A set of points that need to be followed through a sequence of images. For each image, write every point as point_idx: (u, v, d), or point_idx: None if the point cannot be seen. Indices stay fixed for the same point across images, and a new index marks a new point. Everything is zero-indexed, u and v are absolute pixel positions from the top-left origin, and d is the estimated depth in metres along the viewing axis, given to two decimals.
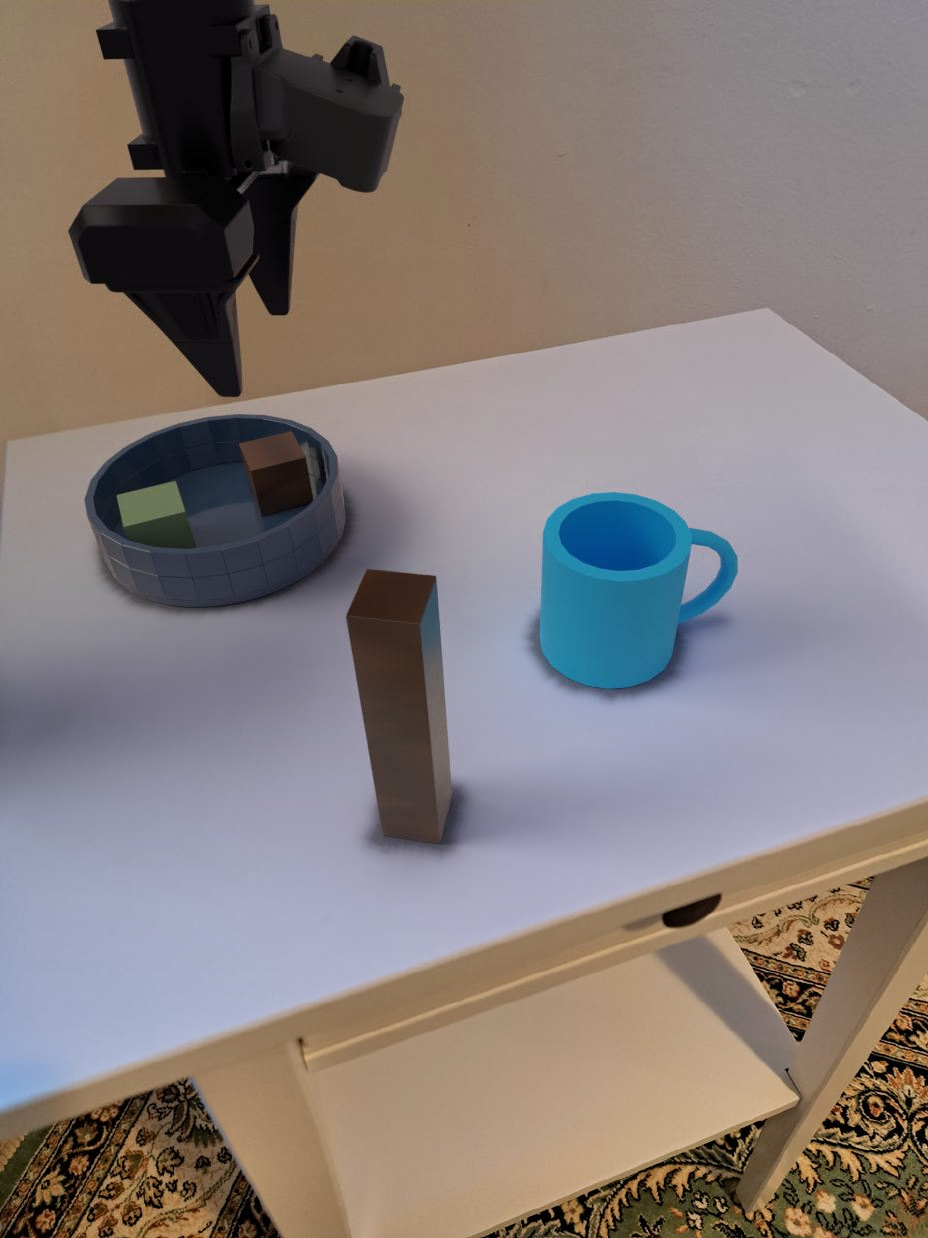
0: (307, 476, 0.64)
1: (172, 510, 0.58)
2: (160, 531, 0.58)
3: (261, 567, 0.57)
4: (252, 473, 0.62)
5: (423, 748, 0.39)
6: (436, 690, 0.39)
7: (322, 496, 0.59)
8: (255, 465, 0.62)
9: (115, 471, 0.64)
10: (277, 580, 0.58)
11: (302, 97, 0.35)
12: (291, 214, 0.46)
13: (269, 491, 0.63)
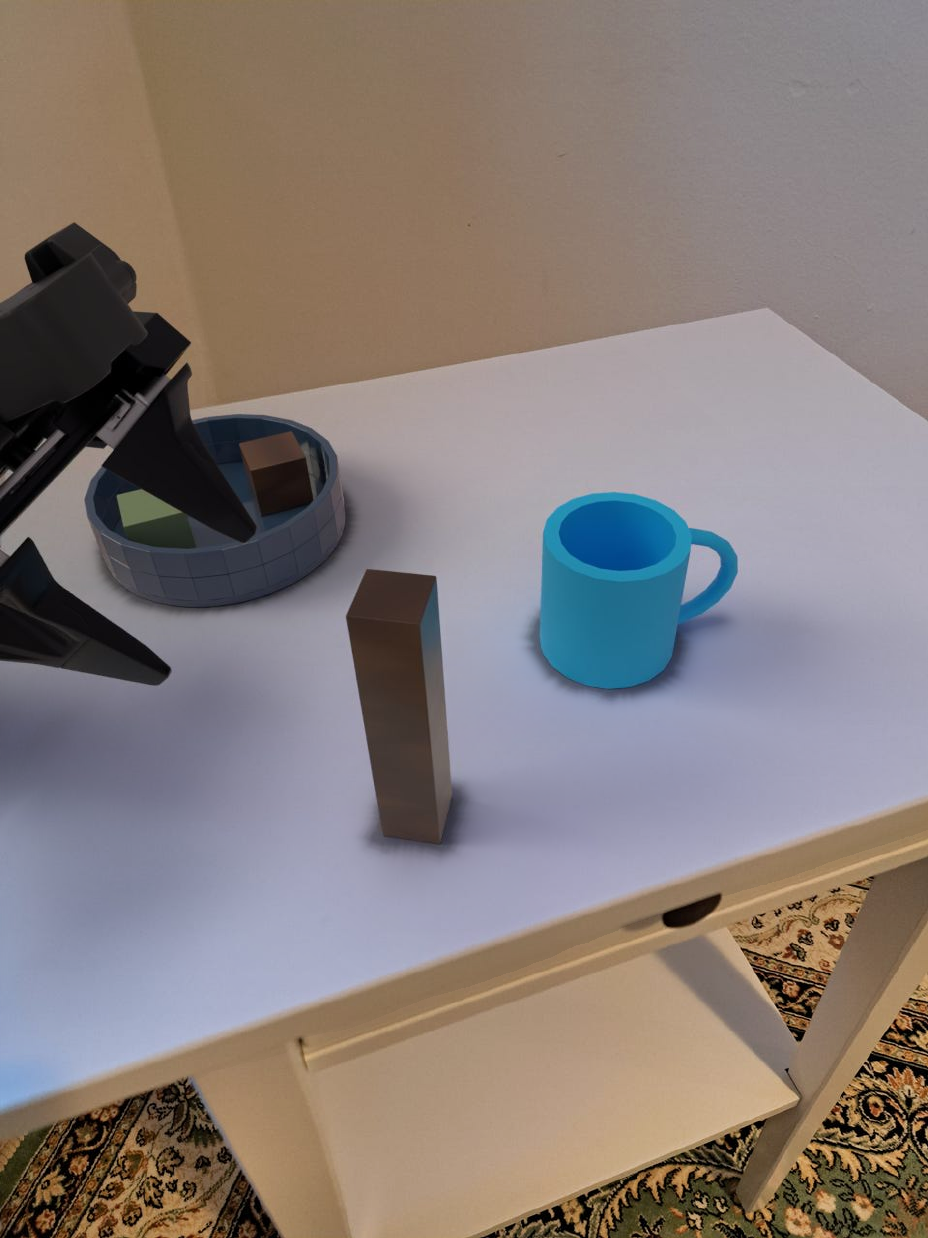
0: (307, 476, 0.64)
1: (172, 510, 0.58)
2: (160, 531, 0.58)
3: (261, 567, 0.57)
4: (252, 473, 0.62)
5: (423, 748, 0.39)
6: (436, 690, 0.39)
7: (322, 496, 0.59)
8: (255, 465, 0.62)
9: None
10: (277, 580, 0.58)
11: None
12: (178, 438, 0.39)
13: (269, 491, 0.63)
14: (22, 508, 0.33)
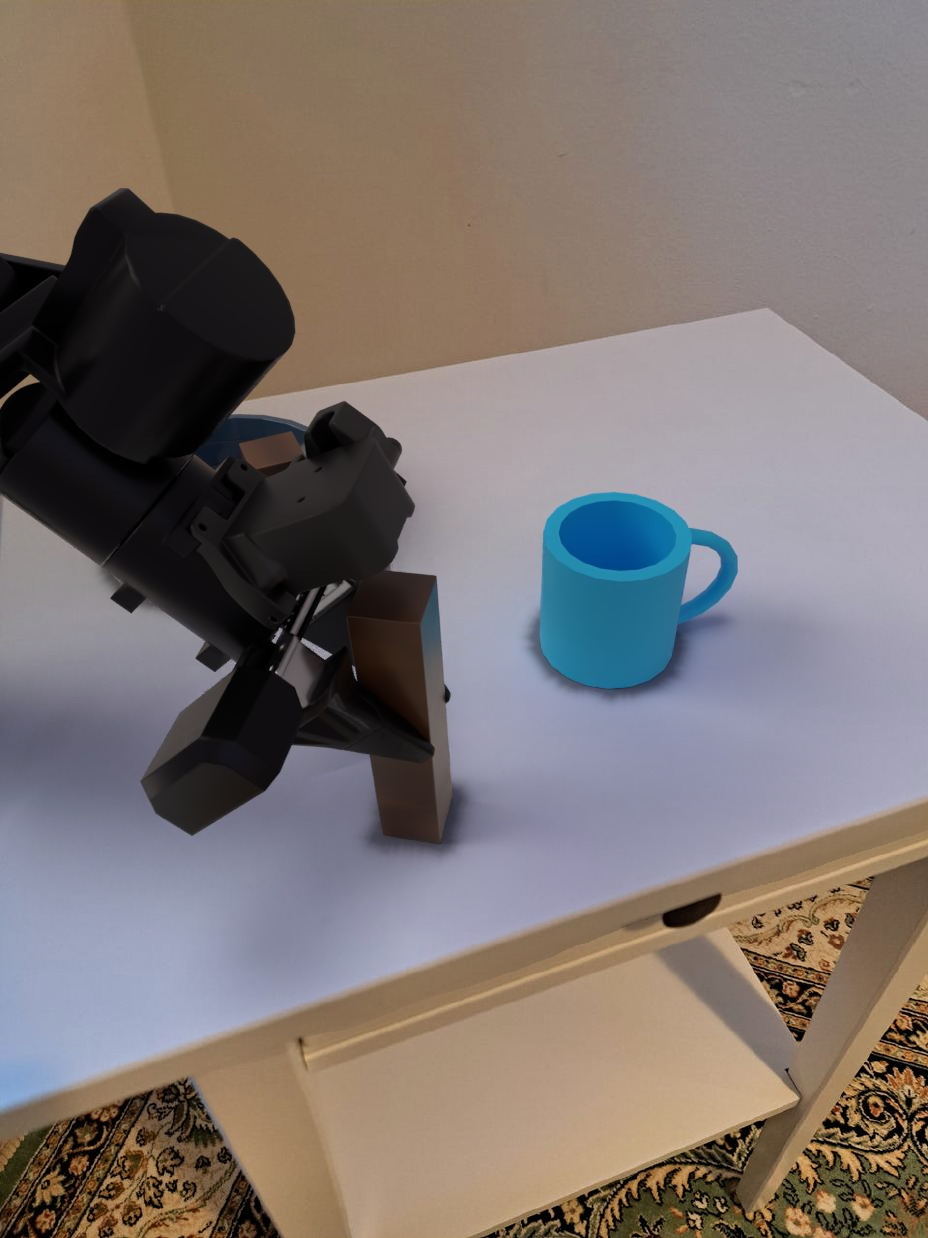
0: None
1: None
2: None
3: None
4: None
5: None
6: (436, 690, 0.39)
7: None
8: (255, 465, 0.62)
9: None
10: None
11: (266, 538, 0.31)
12: None
13: None
14: None
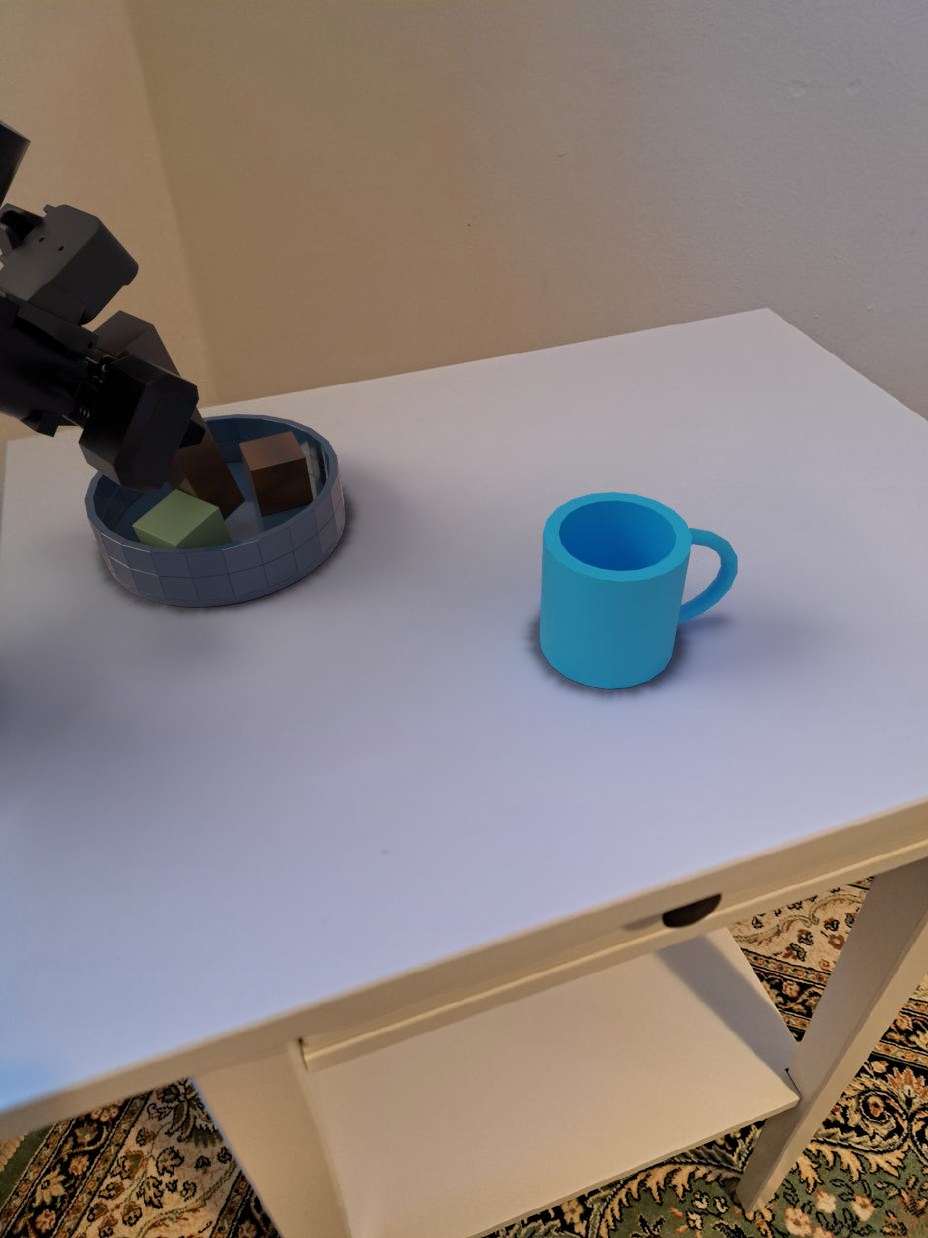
0: (307, 476, 0.64)
1: (172, 537, 0.56)
2: None
3: (261, 567, 0.57)
4: (252, 473, 0.62)
5: None
6: None
7: (322, 496, 0.59)
8: (255, 465, 0.62)
9: None
10: (277, 580, 0.58)
11: (64, 277, 0.44)
12: None
13: (269, 491, 0.63)
14: None
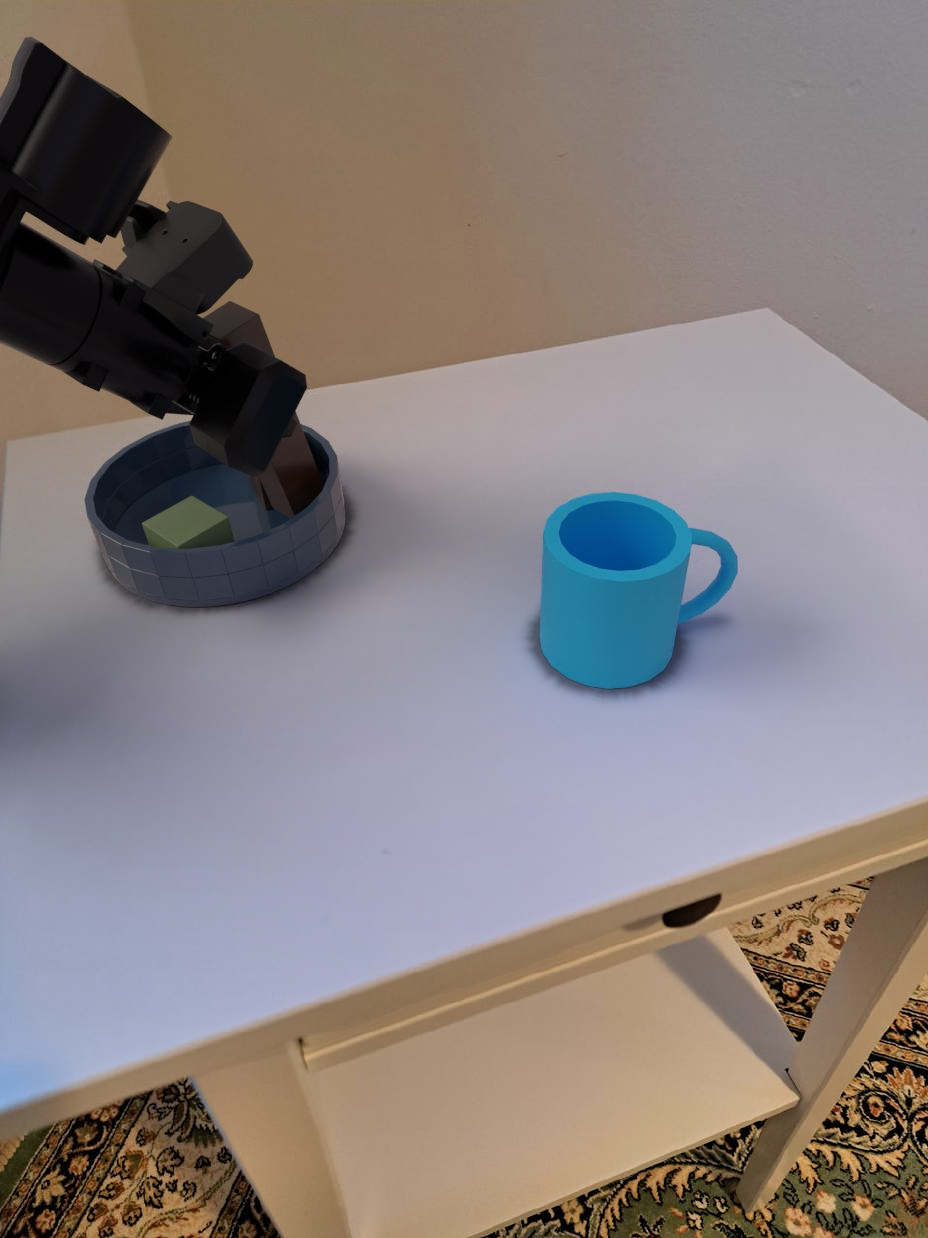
0: None
1: (176, 538, 0.56)
2: (164, 547, 0.57)
3: (261, 567, 0.57)
4: None
5: None
6: None
7: (322, 496, 0.59)
8: None
9: (115, 471, 0.64)
10: (277, 580, 0.58)
11: (187, 267, 0.46)
12: None
13: None
14: None
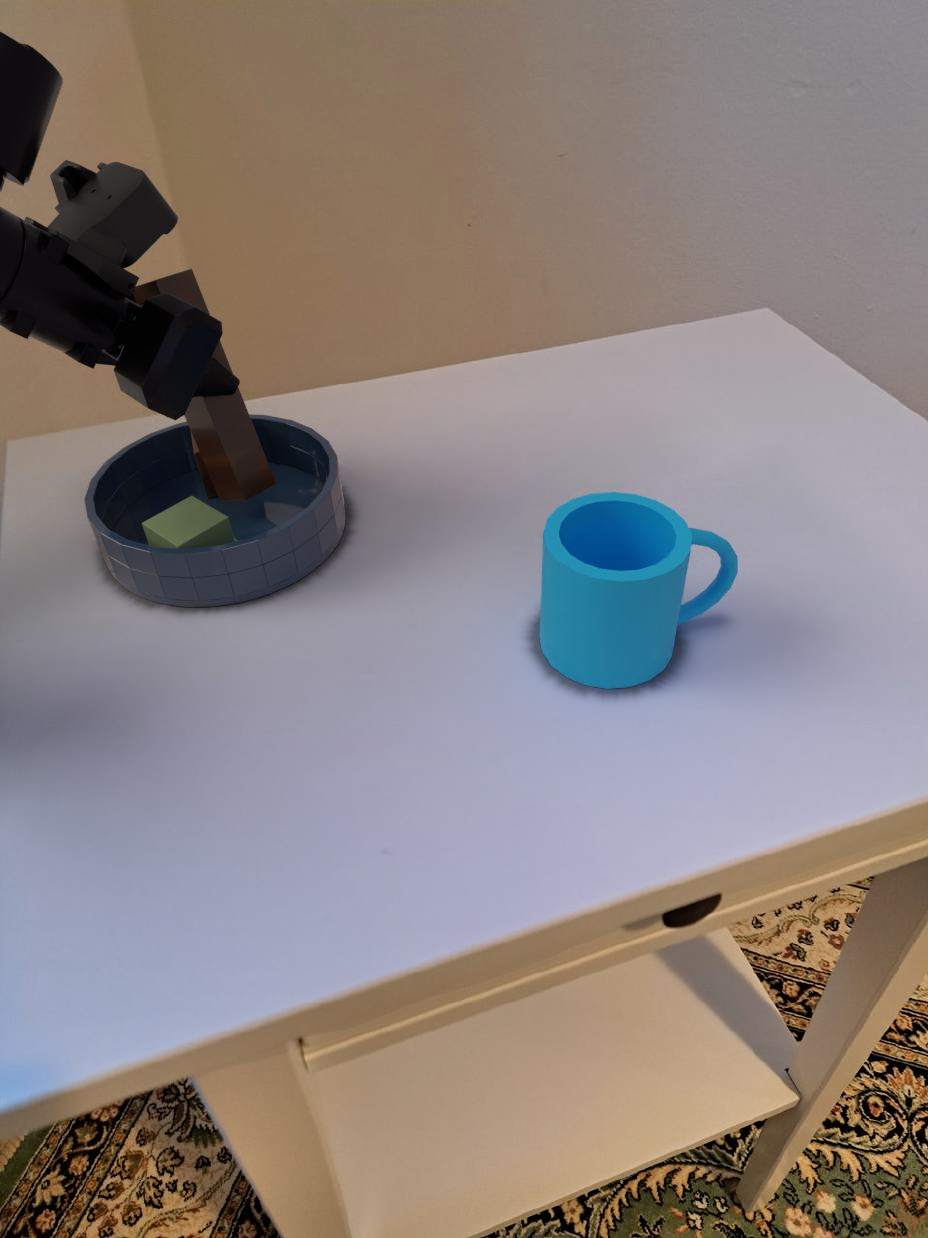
0: None
1: (176, 538, 0.56)
2: (164, 547, 0.57)
3: (261, 567, 0.57)
4: (195, 455, 0.64)
5: None
6: None
7: (322, 496, 0.59)
8: None
9: (115, 471, 0.64)
10: (277, 580, 0.58)
11: (110, 221, 0.49)
12: None
13: None
14: None
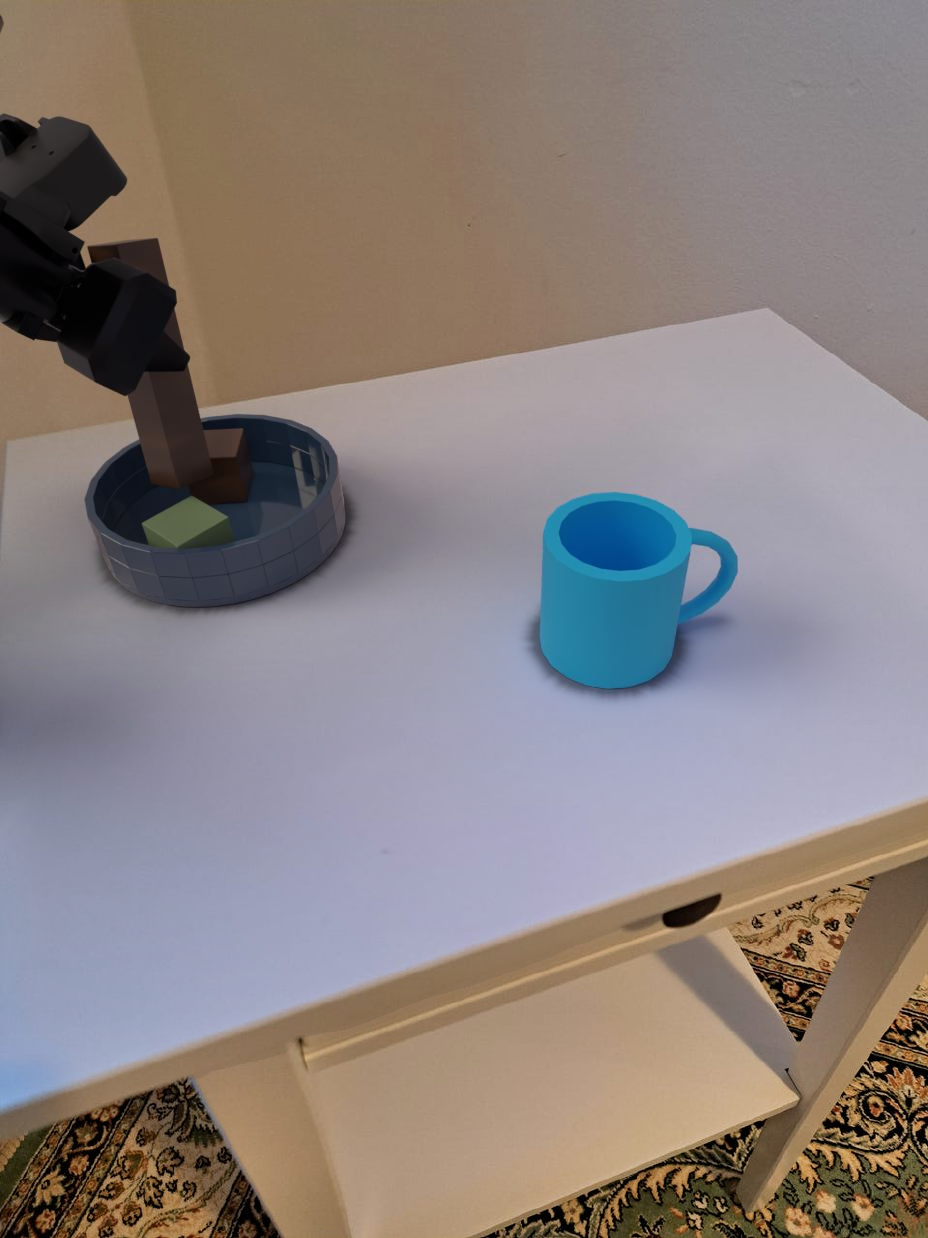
0: (238, 475, 0.64)
1: (176, 538, 0.56)
2: (164, 547, 0.57)
3: (261, 567, 0.57)
4: None
5: None
6: None
7: (322, 496, 0.59)
8: None
9: (115, 471, 0.64)
10: (277, 580, 0.58)
11: (52, 178, 0.45)
12: None
13: (200, 483, 0.64)
14: None
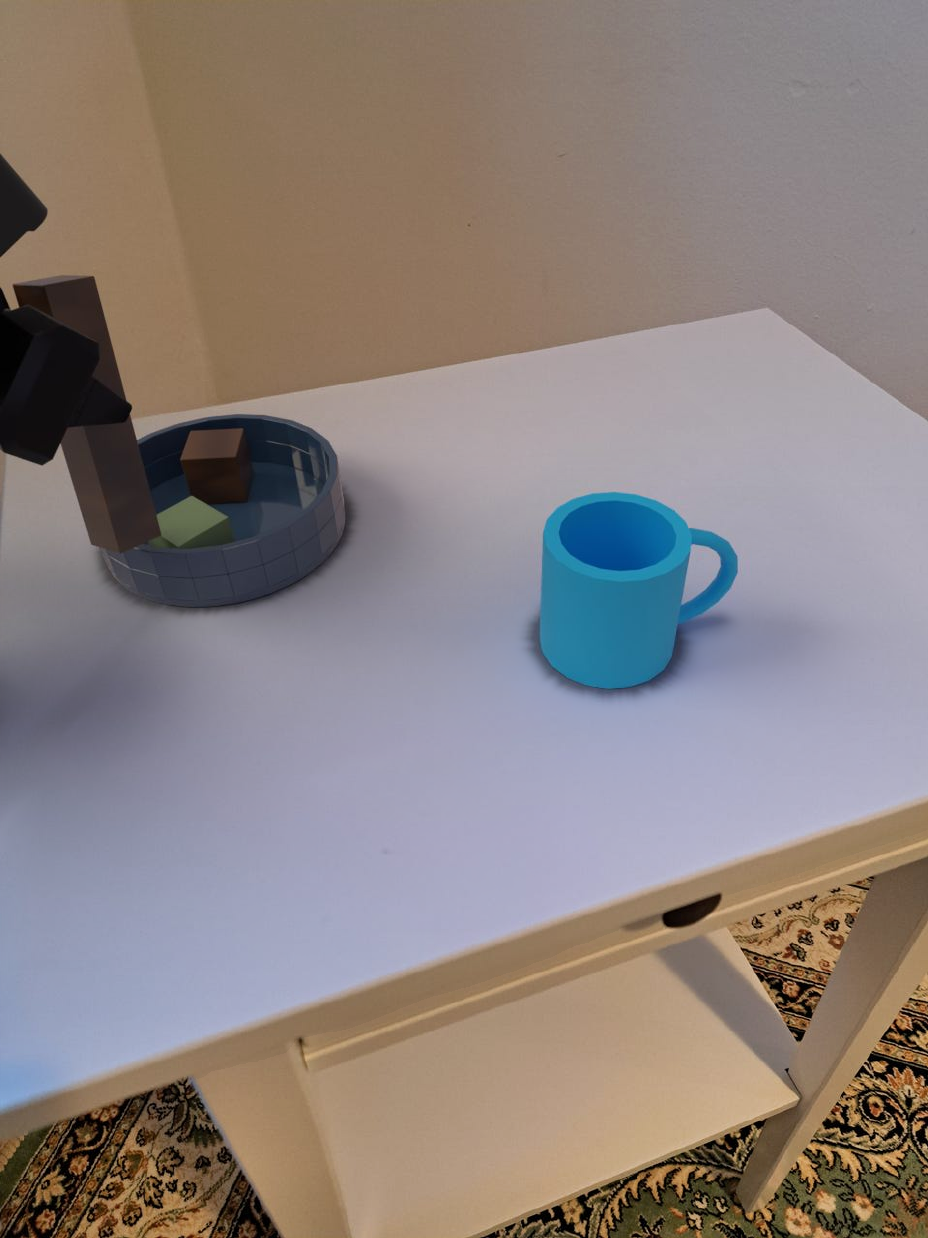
0: (238, 475, 0.64)
1: (176, 538, 0.56)
2: (164, 547, 0.57)
3: (261, 567, 0.57)
4: (181, 462, 0.63)
5: None
6: None
7: (322, 496, 0.59)
8: (187, 456, 0.63)
9: None
10: (277, 580, 0.58)
11: None
12: None
13: (200, 483, 0.64)
14: None
